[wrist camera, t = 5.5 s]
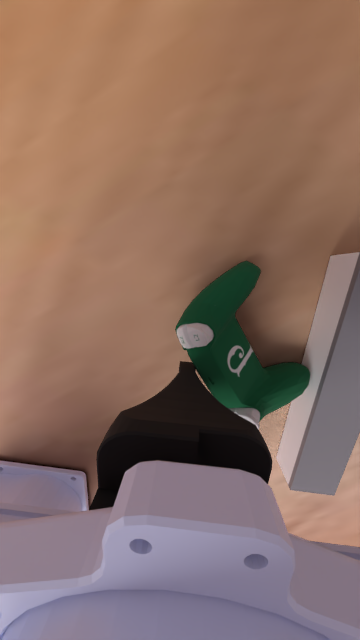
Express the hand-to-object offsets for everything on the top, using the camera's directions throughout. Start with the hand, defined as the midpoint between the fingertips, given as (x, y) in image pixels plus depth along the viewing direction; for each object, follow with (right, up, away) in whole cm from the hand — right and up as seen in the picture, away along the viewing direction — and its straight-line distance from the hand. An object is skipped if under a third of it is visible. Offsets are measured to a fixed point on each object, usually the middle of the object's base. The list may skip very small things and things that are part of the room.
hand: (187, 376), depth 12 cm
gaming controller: (+4, +2, +1) cm, 4 cm away
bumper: (+10, 0, +1) cm, 10 cm away
